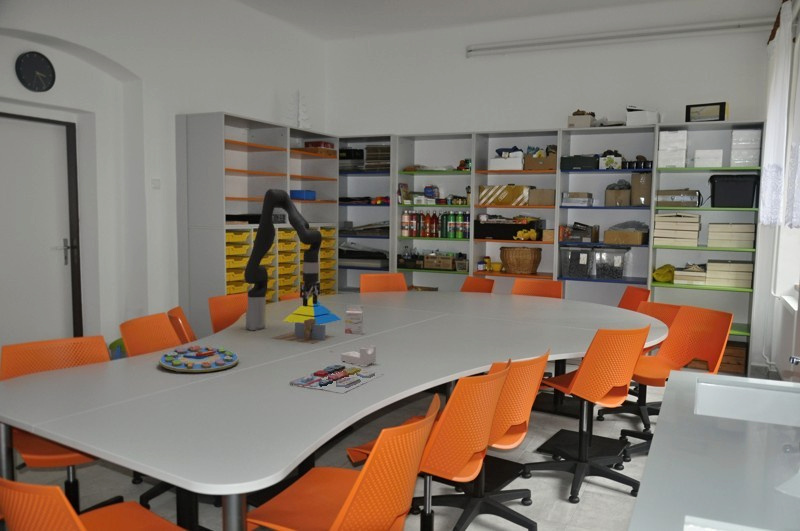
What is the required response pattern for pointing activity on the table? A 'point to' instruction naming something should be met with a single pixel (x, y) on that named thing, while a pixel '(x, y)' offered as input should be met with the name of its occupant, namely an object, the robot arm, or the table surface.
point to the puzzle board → (333, 377)
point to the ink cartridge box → (354, 320)
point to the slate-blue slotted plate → (316, 332)
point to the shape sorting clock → (198, 359)
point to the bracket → (360, 356)
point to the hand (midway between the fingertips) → (310, 305)
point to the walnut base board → (298, 338)
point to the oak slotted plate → (308, 327)
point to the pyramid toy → (312, 313)
